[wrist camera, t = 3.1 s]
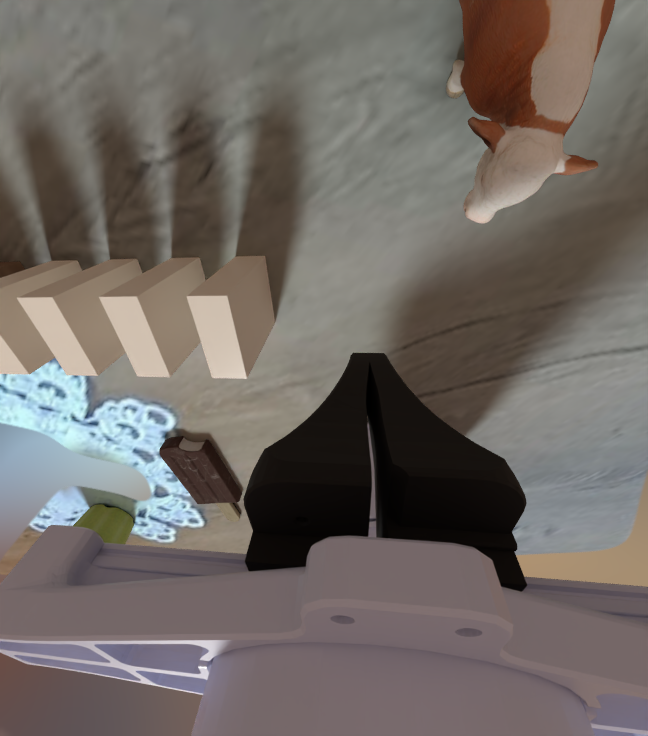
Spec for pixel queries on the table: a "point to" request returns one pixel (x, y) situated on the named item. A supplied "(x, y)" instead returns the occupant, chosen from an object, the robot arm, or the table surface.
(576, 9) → the bull figurine
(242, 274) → the domino
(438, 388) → the table surface
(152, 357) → the domino
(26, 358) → the domino
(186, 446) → the ice cream bar
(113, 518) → the plant pot
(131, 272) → the domino
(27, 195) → the table surface
